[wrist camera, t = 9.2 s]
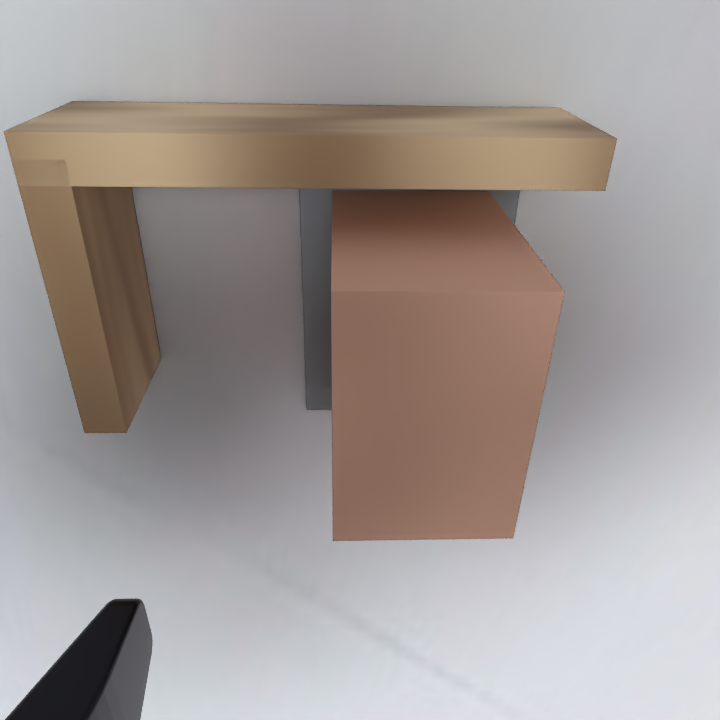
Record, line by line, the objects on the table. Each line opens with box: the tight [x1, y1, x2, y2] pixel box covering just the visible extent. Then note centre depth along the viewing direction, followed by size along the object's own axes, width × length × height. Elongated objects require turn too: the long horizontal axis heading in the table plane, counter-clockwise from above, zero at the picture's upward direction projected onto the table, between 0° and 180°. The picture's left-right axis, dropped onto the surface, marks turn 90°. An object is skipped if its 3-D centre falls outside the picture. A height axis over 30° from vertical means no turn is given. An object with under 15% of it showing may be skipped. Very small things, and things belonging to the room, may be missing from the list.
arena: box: [4, 101, 617, 433], centre depth 15 cm, size 12×9×4 cm
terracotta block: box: [331, 191, 564, 541], centre depth 15 cm, size 6×4×6 cm, turn 0°
